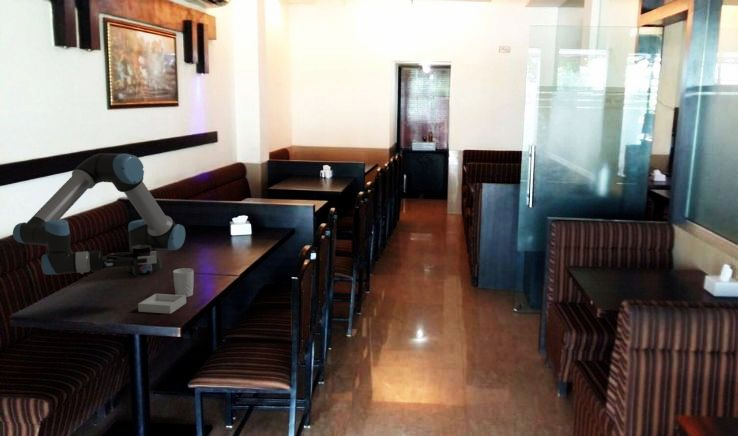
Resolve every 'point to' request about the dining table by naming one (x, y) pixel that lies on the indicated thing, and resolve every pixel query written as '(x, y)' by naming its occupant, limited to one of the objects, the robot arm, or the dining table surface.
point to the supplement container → (140, 252)
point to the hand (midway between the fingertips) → (156, 257)
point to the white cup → (183, 281)
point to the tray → (162, 303)
